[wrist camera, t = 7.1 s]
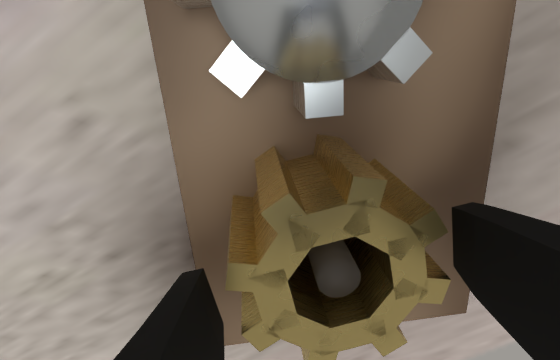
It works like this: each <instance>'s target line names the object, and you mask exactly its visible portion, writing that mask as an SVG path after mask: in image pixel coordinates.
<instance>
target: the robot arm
mask: <svg viewBox="0 0 560 360" xmlns="http://www.w3.org/2000/svg"><path fill="white" fill-rule="evenodd" d="M452 236H453V266H454V268H455V269H456V271H457V272H458V274H459V275H460V276H461V278H462V279H463V281H464V282H465V284H466V285H467V286H468V288H469V289H470V290H471V292H472V293H473V294H474V296H475V297H476V298H477V299H478V300H479V301H480V303H481V304H482V305H483V306H484V307H485V308H486V309H487V310H488V311H489V312H490V313H491V315H492V316H493V317H494V318H495V319H496V320H497V321H498V322H499V323H500V324H501V325H502V326H503V327H504V329H505V330H506V331H507V332H508V333H509V334H510V335H511V336H512V337H513V338H514V339H515V340H516V341H517V342H518V344H519V345H520V346H521V347H522V348H523V349H524V350H525V351H526V352H527V353H528V354H529V355H530V356H531V357H532V359H534V360H560V225H556V224H553V223H549V222H546V221H542V220H538V219H535V218H531V217H528V216H524V215H521V214H518V213H514V212H511V211H507V210H503V209H500V208H496V207H492V206H488V205H484V204H480V203H475V202H471V203H467V204H463V205H459V206H454V207H452ZM114 360H224V323H223V320H222V318H221V315H220V312H219V309H218V307H217V304H216V301H215V298H214V296H213V293H212V290H211V287H210V285H209V282H208V279H207V276H206V274H205V271H204V268H201V269H197V270H193V271H189V272H185V273H182V274H181V275H180V276H179V278H178V279H177V280H176V282H175V283H174V284H173V285H172V287H171V288H170V289H169V291H168V292H167V293H166V295H165V296H164V297H163V299H162V300H161V301H160V303H159V304H158V305H157V307H156V308H155V309H154V311H153V312H152V313H151V315H150V316H149V317H148V318H147V320H146V321H145V322H144V324H143V325H142V326H141V327H140V329H139V330H138V331H137V332H136V334H135V335H134V336H133V337H132V338H131V340H130V341H129V342H128V343H127V344H126V345H125V347H124V348H123V349H122V350H121V351H120V353H119V354H118V355H117V356H116V357H115V359H114Z"/></svg>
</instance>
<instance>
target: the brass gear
mask: <svg viewBox="0 0 560 360" xmlns="http://www.w3.org/2000/svg"><path fill="white" fill-rule="evenodd" d="M255 168H256V177H257V186H258V190H257V191H256V193H255V194H254V196H253V197H246V196H237V195H233V198H232V206H231V214H230V227H229V242H228V256H227V270H226V284H225V290H227V291H242V318H241V335H242V336H243V337H244V338H245V339H247V340H248V341H249V342H250V343H251V344H252V345H253V346H254V347H255V348H256V349H257V350H258V351H259V352H261V351H262V350H264V349H266V348H267V347H269V346H270V345H272V344H273V343H275V342H277V341H278V340H280V339H282V340H285V341H287V342H290V343H292V344H295V345H297V346H300V347H301V349H302V354H303V359H304V360H336V358H337V354H338V352H339V351H343V350H347V349H351V348H354V347H358V346H362V345H366V344H370V343H372V344H373V345H374V346H375V348H376V349H377V350H378V351H379V352H380V353H381V355H382V356H383V357H384V356H385V355H387V354H389V353H390V352H392V351H394V350H396V349H397V348H399V347H401V346H402V345H404V344H406V343H407V340H406V339H405V337H404V335H403V333H402V331H401V330H400V328H399V326H398V325H399V324H400V323H401V322H402V321H403V320H404V318H405V317H406V316H407V315H408V314H409V313H410V312H411V310H412V309H413V308H414V307H415V306H416V305H417V303H429V304H442V302H443V299H444V297H445V294H446V292H447V289H448V287H449V284H450V282H451V279H450V278H449V277H448V276H447V274H446V273H445V272H444V271H443V270H442V269H441V268H440V267H439V266H438V264H437V263H436V262H435V261H434V260H433V259H432V258H431V257H430V256H429V254H428V253H427V252H426V251H425V247H426V246H427V245H429V244H431V243H432V242H434V241H435V240H437V239H438V238H440V237H442V236H443V235H445V234H446V233H448V230H447V229H446V227H445V225H444V224H443V222H442V220H441V219H440V217H439V215H438V214H437V212H436V210H435V209H434V208H433V207H432V206H431V205H429V204H428V203H427V202H426V201H425V200H423V199H422V198H421V197H420V196H419V195H417V194H416V193H415V192H414V191H413V190H412V189H410V188H409V187H408V186H407V185H406V184H404V183H403V182H402V181H401V180H400V179H399V178H397V177H396V176H395V175H394V174H393V173H391V172H390V171H389V170H388V169H387V168H385V167H384V166H383V165H382V164H381V163H380V162H378V161H377V160H376V159H373V160H372V161H370V162H369V163H368V162H367V161H366V160H365V159H363V158H362V157H361V156H360V155H359V154H358V153H357V152H356V151H355V150H354V149H353V148H352V147H350V146H349V145H348V144H347V143H346V142H345V141H344V140H343V139H342V138H341V137H334V136H327V135H320V134H317V138H316V143H315V148H314V153H313V154H311V155H307V156H303V157H299V158H295V159H292V160H288V161H286V160H285V159H284V158H283V157H282V155H281V154H280V153H279V151H278V150H277V149H276V147H275V146H272V147H271V148H270V149H268V150H267V151H265V152H264V153H263V154H261V155H260V156H259V157H257V158H256V159H255ZM339 240H344V242H345V244H346V246H347V247H348V249H349V251H350V253H351V255H352V257H353V259H354V261H355V263H356V265H357V266H358V268H359V270H360V273H361V280H360V283H359V285H358V287H357V288H356V289H355V290H354V291H353V292H352V293H350V294H349V295H347V296H344V297H339V298H333V297H328V296H326V295H324V294H323V293H322V292H321V291H320V290H319V288H318V285H317V282H316V279H315V276H314V273H313V269H312V266H311V263H310V260H309V257H308V254H307V253H308V252H309V251H310V249H311V248H313V247H316V246H320V245H324V244H328V243H332V242H336V241H339Z"/></svg>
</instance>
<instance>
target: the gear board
mask: <svg viewBox="0 0 560 360" xmlns="http://www.w3.org/2000/svg"><path fill="white" fill-rule="evenodd" d="M144 4H145V9H146V15H147V20H148V25H149V30H150V35H151V40H152V46H153V51H154V56H155V61H156V66H157V71H158V77H159V82H160V87H161V92H162V97H163V103H164V108H165V113H166V118H167V123H168V128H169V134H170V139H171V144H172V149H173V154H174V159H175V165H176V170H177V175H178V180H179V185H180V191H181V196H182V201H183V206H184V211H185V216H186V222H187V227H188V232H189V237H190V242H191V247H192V253H193V258H194V263H195V268H196V270H197V269H201V268H204V271H205V274H206V276H207V279H208V282H209V285H210V287H211V290H212V293H213V296H214V298H215V301H216V304H217V307H218V309H219V312H220V315H221V318H222V320H223V323H224V346H226V345H234V344H241V343H248V342H249V341H248V340H247V339H245V338H244V337H243V336H242V335H241V318H242V291H227V290H225V284H226V270H227V256H228V242H229V227H230V214H231V206H232V198H233V195H237V196H246V197H253V196H254V194H255V193H256V191H257V190H258V186H257V177H256V168H255V159H256V158H257V157H259V156H260V155H261V154H263V153H264V152H265V151H267V150H268V149H270V148H271V147H272V146H275V147H276V149H277V150H278V151H279V153H280V154H281V155H282V157H283V158H284V159H285V160H286V161H288V160H292V159H295V158H299V157H303V156H307V155H311V154H313V153H314V148H315V143H316V138H317V134H320V135H327V136H334V137H341V138H342V139H343V140H344V141H345V142H346V143H347V144H348V145H349V146H350V147H352V148H353V149H354V150H355V151H356V152H357V153H358V154H359V155H360V156H361V157H362V158H363V159H365V160H366V161H367V162H368V163H369V162H370V161H372V160H373V159H376V160H377V161H378V162H380V163H381V164H382V165H383V166H384V167H385V168H387V169H388V170H389V171H390V172H391V173H393V174H394V175H395V176H396V177H397V178H399V179H400V180H401V181H402V182H403V183H404V184H406V185H407V186H408V187H409V188H410V189H412V190H413V191H414V192H415V193H416V194H417V195H419V196H420V197H421V198H422V199H423V200H425V201H426V202H427V203H428V204H429V205H431V206H432V207H433V208H434V209H435V210H436V212H437V214H438V215H439V217H440V219H441V220H442V222H443V224H444V225H445V227H446V229H447V230H448V233H446V234H445V235H443V236H442V237H440V238H438V239H437V240H435V241H434V242H432V243H431V244H429V245H427V246H426V247H425V251H426V252H427V253H428V254H429V256H430V257H431V258H432V259H433V260H434V261H435V262H436V263H437V264H438V266H439V267H440V268H441V269H442V270H443V271H444V272H445V273H446V274H447V276H448V277H449V278H450V279H451V282H450V284H449V287H448V289H447V292H446V294H445V297H444V299H443V302H442V304H429V303H417V305H416V306H415V307H414V308H413V309H412V310H411V312H410V313H409V314H408V315H407V316H406V317H405V318H404V320H403V321H410V320H417V319H425V318H432V317H440V316H447V315H454V314H462V313H466V310H467V304H468V298H469V292H470V289H469V288H468V286H467V285H466V284H465V282H464V281H463V279H462V278H461V276H460V275H459V274H458V272H457V271H456V269H455V268H454V266H453V236H452V207H454V206H459V205H463V204H467V203H471V202H475V203H480V204H484V199H485V192H486V186H487V180H488V174H489V168H490V161H491V155H492V149H493V143H494V137H495V130H496V124H497V118H498V112H499V105H500V99H501V93H502V87H503V81H504V74H505V68H506V62H507V56H508V50H509V43H510V37H511V31H512V25H513V19H514V12H515V6H516V0H423V2H422V5H421V7H420V9H419V11H418V13H417V15H416V17H415V20H414V21H413V23H412V24H411V26H410V27H411V29H412V30H413V31H414V32H415V33H416V34H417V35H418V36H419V38H420V39H421V40H422V41H423V42H424V43H425V44H426V46H427V47H428V48H429V49H430V50H431V51H432V52H433V53H432V54H431V55H430V56H429V58H428V59H427V60H426V61H425V62H424V63H423V64H422V65H421V66H420V67H419V68H418V69H417V71H416V72H415V73H414V74H413V75H412V76H411V77H410V78H409V79H408V80H407V81H406V82H405V84H401V83H397V82H392V81H388V80H384V79H379V78H375V77H373V76H372V75H371V74H370V73H369V72H368V71H367V70H365V71H363V72H361V73H359V74H357V75H354V76H352V77H350V78H346V79H343V99H344V115H341V116H330V117H319V118H308V119H306V118H305V117H304V116H303V115H302V114H301V113H300V112H299V111H298V109H297V108H296V107H295V106H294V98H293V81H292V80H288V79H285V78H282V77H280V76H277V75H275V74H272V73H270V72H269V71H267V70H264V71H263V72H262V74H261V75H260V76H259V77H258V79H257V80H256V81H255V82H254V84H253V85H252V86H251V87H250V88H249V90H248V91H247V92H246V93H245V95H244V96H243V97H242V98H241V97H239V96H238V95H237V94H236V93H235V92H233V91H232V90H231V89H230V88H229V87H227V86H226V85H225V84H224V83H223V82H221V81H220V80H219V79H218V78H217V77H215V76H214V75H213V74H212V73H211V72H209V70H210V69H211V67H212V66H213V65H214V63H215V62H216V61H217V60H218V58H219V57H220V56H221V54H222V53H223V52H224V50H225V49H226V48H227V46H228V45H229V44H230V43H231V41H232V39H231V38H230V37H229V35H228V34H227V32H226V31H225V29H224V27H223V26H222V24H221V22H220V21H219V19H218V16H217V14H216V12H215V10H214V7H203V8H189V9H184V8H182V7H180V6H179V5H177V4H176V3H174V2H173V1H171V0H144ZM307 254H308V257H309V260H310V263H311V266H312V269H313V273H314V276H315V279H316V282H317V285H318V288H319V290H320V291H321V292H322V293H323V294H324V295H326V296H328V297H333V298H339V297H344V296H347V295H349V294H350V293H352V292H353V291H354V290H355V289H356V288H357V287H358V285H359V283H360V280H361V273H360V270H359V268H358V266H357V265H356V263H355V261H354V259H353V257H352V255H351V253H350V251H349V249H348V247H347V246H346V244H345V242H344V240H339V241H336V242H332V243H328V244H324V245H320V246H316V247H313V248H311V249H310V251H309V252H308V253H307ZM403 321H402V322H403Z"/></svg>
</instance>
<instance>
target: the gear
mask: <svg viewBox="0 0 560 360" xmlns="http://www.w3.org/2000/svg"><path fill="white" fill-rule="evenodd" d="M171 1H173V2H174V3H176V4H177V5H179V6H180V7H182V8H184V9H189V8H203V7H214V10H215V12H216V14H217V16H218V19H219V21H220V22H221V24H222V26H223V27H224V29H225V31H226V32H227V34H228V35H229V37H230V38H231V39H232V41H231V43H230V44H229V45H228V46H227V48H226V49H225V50H224V52H223V53H222V54H221V56H220V57H219V58H218V60H217V61H216V62H215V63H214V65H213V66H212V67H211V69H210V70H209V72H211V73H212V74H213V75H214V76H215V77H217V78H218V79H219V80H220V81H221V82H223V83H224V84H225V85H226V86H227V87H229V88H230V89H231V90H232V91H233V92H235V93H236V94H237V95H238V96H239V97H241V98H242V97H243V96H244V95H245V93H246V92H247V91H248V90H249V88H250V87H251V86H252V85H253V84H254V82H255V81H256V80H257V79H258V77H259V76H260V75H261V74H262V72H263V71H264V70H267V71H269V72H270V73H272V74H275V75H277V76H280V77H282V78H285V79H288V80H292V81H293V98H294V106H295V107H296V108H297V109H298V111H299V112H300V113H301V114H302V115H303V116H304V117H305V118H306V119H308V118H319V117H330V116H341V115H344V99H343V79H346V78H350V77H352V76H354V75H357V74H359V73H361V72H363V71H365V70H367V71H368V72H369V73H370V74H371V75H372V76H373V77H375V78H379V79H384V80H388V81H392V82H397V83H401V84H405V82H406V81H407V80H408V79H409V78H410V77H411V76H412V75H413V74H414V73H415V72H416V71H417V69H418V68H419V67H420V66H421V65H422V64H423V63H424V62H425V61H426V60H427V59H428V58H429V56H430V55H431V54H432V53H433V52H432V51H431V50H430V49H429V48H428V47H427V46H426V44H425V43H424V42H423V41H422V40H421V39H420V38H419V36H418V35H417V34H416V33H415V32H414V31H413V30H412V29H411V27H410V26H411V24H412V23H413V21H414V20H415V17H416V15H417V13H418V11H419V9H420V7H421V5H422V2H423V0H171Z"/></svg>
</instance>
